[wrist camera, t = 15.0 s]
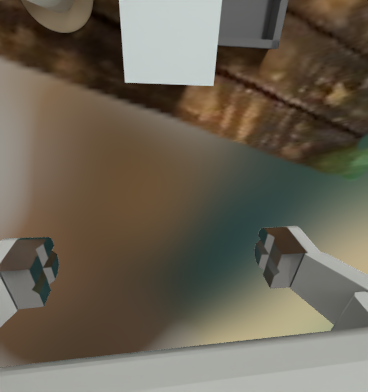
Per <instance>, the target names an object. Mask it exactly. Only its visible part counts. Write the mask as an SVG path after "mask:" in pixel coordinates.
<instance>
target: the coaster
mask: <svg viewBox="0 0 368 392" xmlns="http://www.w3.org/2000/svg"><path fill="white" fill-rule="evenodd" d="M21 1H22V3H23V5H24V6H25V8H26V9H27V11H28V12H29V13H30V14H31V16H32V17H33V18H34V19H35V20H36V21H38V22H39V23H40V24H42V25H43V26H45V27H46V28H48V29H50V30H53V31H57V32H61V33H70V32H74V31H77V30H79V29H80V28H82V27H83V26H84V25H85V24H86V22H87V21H88V19H89V18H90V15H91V13H92V9H93V0H74V3H73V5H72V7H71V8H70V9H69V10H68V11H66V12H64V13H56V12H53V11H50V10H48V9H46V8H43V7H41V6H39V5H36V4H34V3H32V2H29V1H27V0H21Z"/></svg>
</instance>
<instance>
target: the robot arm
mask: <svg viewBox="0 0 368 392" xmlns="http://www.w3.org/2000/svg"><path fill="white" fill-rule="evenodd" d="M258 237H259V238H260V240H259V241H258V242H257V243H256V245H255V249H254V252H255V259H256V262H257V264H258V266H259V267H261V268H262V269H263V270H264V273H263V276H264V278H265V280H266V281H267V283H268V285H269V287H270V288H286V287H291V289H292V290H293V291H294V292H295V293H297V294H298V295H299V296H300V297H301V298H302V299H304V300H305V301H306V302H307V303H308V304H310V305H311V306H312V307H313V308H315V309H316V310H317V311H318V312H319V313H320V314H322V315H323V316H324V317H325V318H327V319H328V320H329V321H330V322H331V323H332V324H334V326H333V328H332V329H331V331H325V332H317V333H307V334H299V335H289V336H281V337H271V338H262V339H253V340H245V341H235V342H226V343H217V344H208V345H199V346H190V347H181V348H171V349H162V350H154V351H144V352H136V353H126V354H117V355H108V356H99V357H89V358H80V359H72V360H62V361H53V362H44V363H35V364H26V365H17V366H8V367H0V392H368V275H367V274H365V273H363V272H361V271H359V270H357V269H355V268H353V267H351V266H349V265H347V264H346V263H344V262H342V261H340V260H338V259H336V258H334V257H332V256H330V255H328V254H327V253H321V252H320V251H319V250H318V249H317V247H316V246H315V245H314V244H313V243H312V242H311V241H310V239H309V238H308V237H307V236H306V235H305V234H304V232H303V231H302V230H301V229H300V228H299V227H297V226H286V227H273V228H261V229H260V231H259V234H258ZM53 247H54V243H53V241H52V239H51V238H49V237H42V238H41V237H40V238H10V239H9V238H6V239H4V240H1V241H0V327H1V326H2V325H3V324H4V323H5V322H6V321H7V320H8V319H9V318H10V317H11V316H12V315H13V314H14V313H16V311H17V309H25V308H35V307H44V306H45V303H46V301H47V298H48V296H49V294H50V291H51V289H50V286H49V284H50V283H52V282H53V281H54V280H55V278H56V276H57V274H58V267H59V261H58V256H57V254H56V253H54V252H53V251H52V249H53Z"/></svg>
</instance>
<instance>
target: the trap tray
mask: <svg viewBox="0 0 368 392" xmlns="http://www.w3.org/2000/svg"><path fill="white" fill-rule="evenodd" d="M287 3H288V0H222V6H221V15H220V25H219V35H218V45H217V46H228V47H245V48H261V49H278V46H279V41H280V36H281V31H282V27H283V22H284V17H285V13H286V8H287Z"/></svg>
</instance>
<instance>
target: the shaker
mask: <svg viewBox="0 0 368 392" xmlns="http://www.w3.org/2000/svg"><path fill="white" fill-rule="evenodd" d="M27 1H29V2H32V3H34V4H36V5H39V6H41V7H43V8H46V9H48V10H50V11H53V12H56V13H64V12H66V11H68V10H69V9H70V8H71V7H72V5H73V3H74V0H27Z"/></svg>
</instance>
